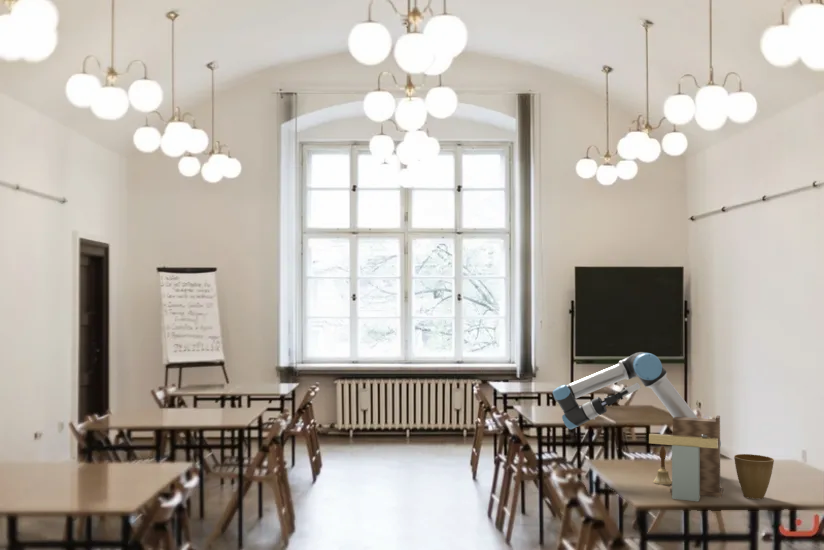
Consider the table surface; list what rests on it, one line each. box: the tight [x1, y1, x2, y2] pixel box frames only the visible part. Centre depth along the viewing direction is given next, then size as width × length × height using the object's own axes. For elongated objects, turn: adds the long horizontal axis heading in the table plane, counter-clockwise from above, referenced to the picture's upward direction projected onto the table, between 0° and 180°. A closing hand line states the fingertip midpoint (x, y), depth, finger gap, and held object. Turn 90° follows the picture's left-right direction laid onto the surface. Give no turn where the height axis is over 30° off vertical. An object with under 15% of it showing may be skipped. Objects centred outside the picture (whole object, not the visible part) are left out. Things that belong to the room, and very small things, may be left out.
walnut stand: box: [669, 415, 724, 498], centre depth 331 cm, size 20×12×32 cm, turn 66°
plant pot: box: [733, 453, 775, 500], centre depth 322 cm, size 15×15×16 cm
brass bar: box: [648, 433, 718, 448], centre depth 320 cm, size 26×4×5 cm, turn 66°
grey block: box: [671, 445, 701, 502], centre depth 319 cm, size 10×7×21 cm
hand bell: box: [652, 445, 672, 486], centre depth 347 cm, size 8×8×16 cm
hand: (637, 386), depth 351 cm, fingers open, 13 cm apart
